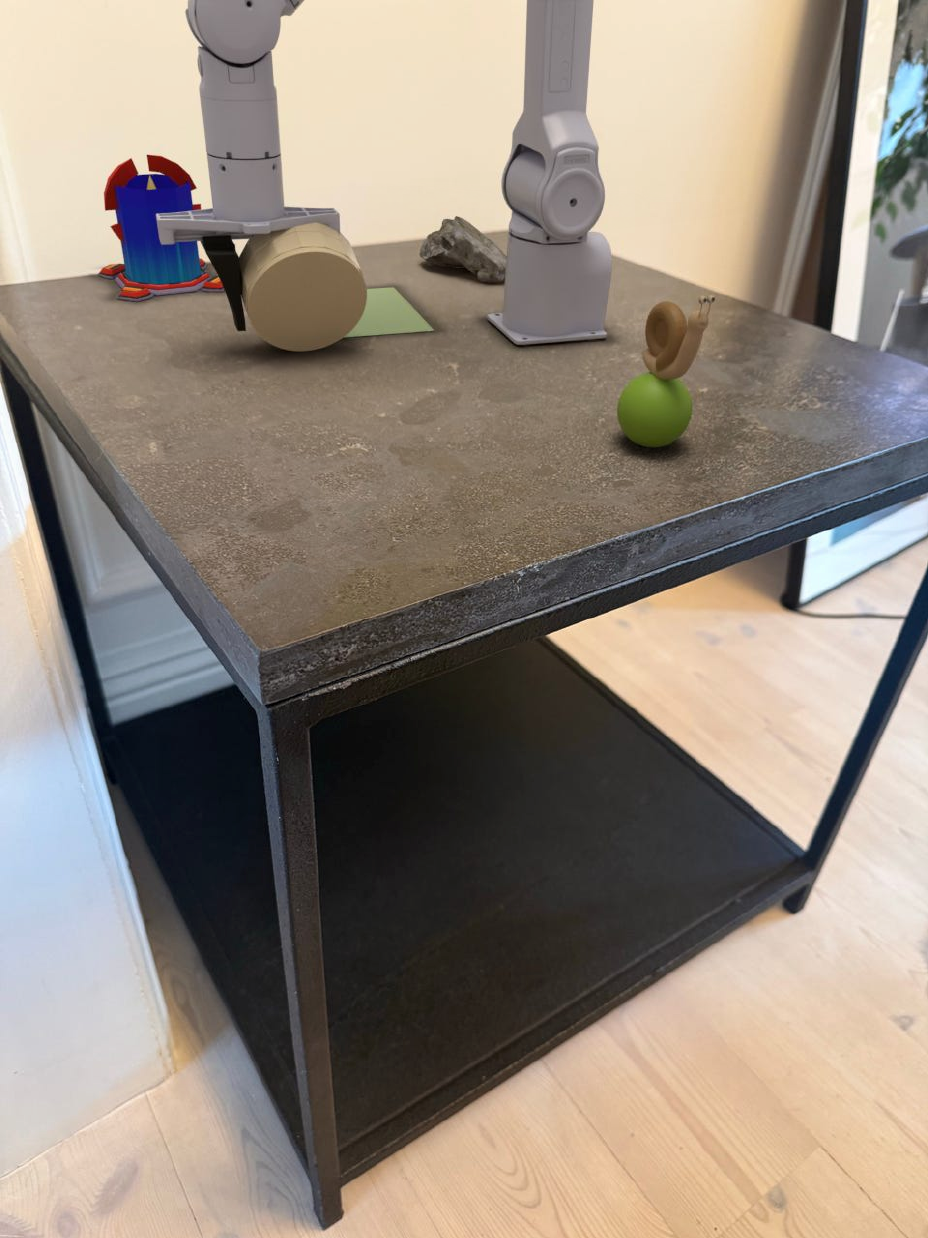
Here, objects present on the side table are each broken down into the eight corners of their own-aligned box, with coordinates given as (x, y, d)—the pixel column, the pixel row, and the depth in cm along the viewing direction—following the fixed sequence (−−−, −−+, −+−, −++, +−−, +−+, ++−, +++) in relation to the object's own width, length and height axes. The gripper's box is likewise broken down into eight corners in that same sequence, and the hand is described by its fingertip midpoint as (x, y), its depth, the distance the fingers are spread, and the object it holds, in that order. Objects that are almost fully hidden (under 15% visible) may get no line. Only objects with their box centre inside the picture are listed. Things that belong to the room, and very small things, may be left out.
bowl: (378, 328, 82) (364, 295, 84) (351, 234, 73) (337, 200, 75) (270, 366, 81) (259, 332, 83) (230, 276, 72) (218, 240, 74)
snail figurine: (644, 470, 65) (675, 299, 58) (599, 433, 70) (621, 271, 63) (707, 459, 67) (744, 293, 60) (658, 424, 72) (687, 266, 65)
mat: (393, 287, 98) (393, 287, 98) (434, 330, 87) (434, 330, 87) (262, 295, 93) (261, 295, 93) (287, 341, 83) (287, 341, 83)
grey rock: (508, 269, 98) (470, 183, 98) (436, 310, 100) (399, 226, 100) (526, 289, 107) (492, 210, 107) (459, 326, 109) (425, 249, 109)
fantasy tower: (120, 303, 90) (97, 168, 82) (94, 271, 98) (70, 146, 91) (237, 290, 95) (224, 162, 87) (203, 260, 103) (188, 141, 96)
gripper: (151, 164, 66) (177, 348, 74) (346, 161, 71) (351, 335, 79) (144, 147, 72) (170, 320, 80) (326, 145, 76) (333, 309, 84)
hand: (259, 325), depth 80 cm, fingers closed on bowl, 3 cm apart
